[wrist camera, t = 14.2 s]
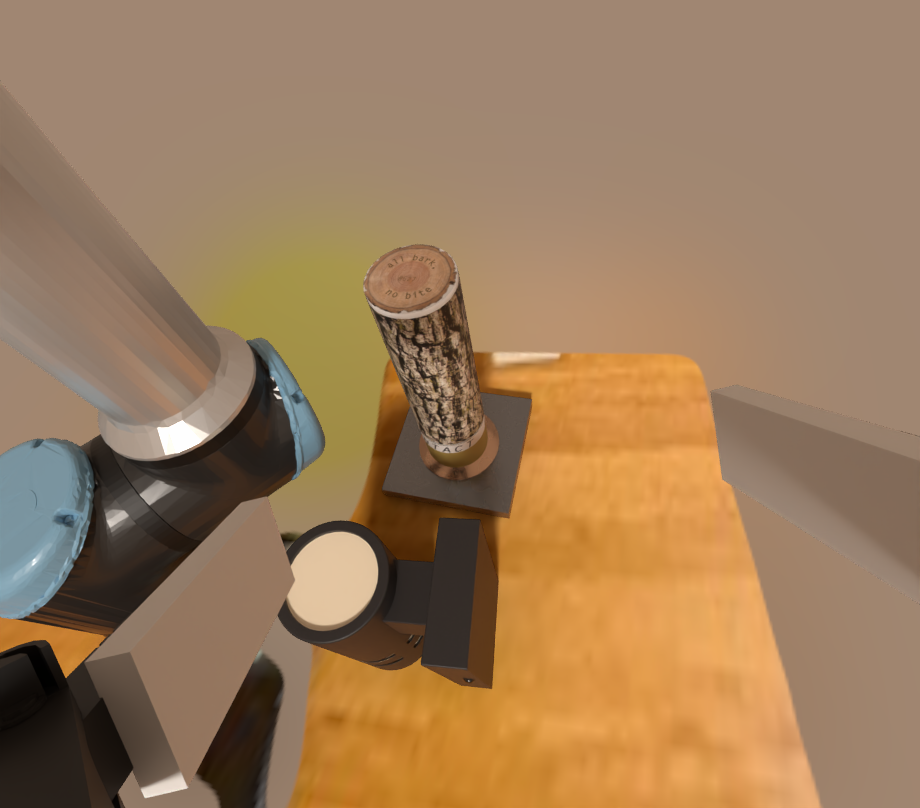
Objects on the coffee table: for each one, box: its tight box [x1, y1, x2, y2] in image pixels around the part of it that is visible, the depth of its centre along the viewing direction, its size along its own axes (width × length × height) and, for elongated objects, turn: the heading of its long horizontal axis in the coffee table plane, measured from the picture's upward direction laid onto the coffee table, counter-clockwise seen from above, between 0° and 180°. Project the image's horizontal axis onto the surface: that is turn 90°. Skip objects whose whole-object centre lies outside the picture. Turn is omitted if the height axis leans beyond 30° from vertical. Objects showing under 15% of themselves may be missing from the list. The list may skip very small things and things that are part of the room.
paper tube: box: [364, 245, 488, 468], centre depth 46 cm, size 7×7×25 cm
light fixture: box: [278, 518, 498, 689], centre depth 41 cm, size 10×14×18 cm
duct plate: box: [382, 392, 532, 518], centre depth 57 cm, size 14×14×2 cm
